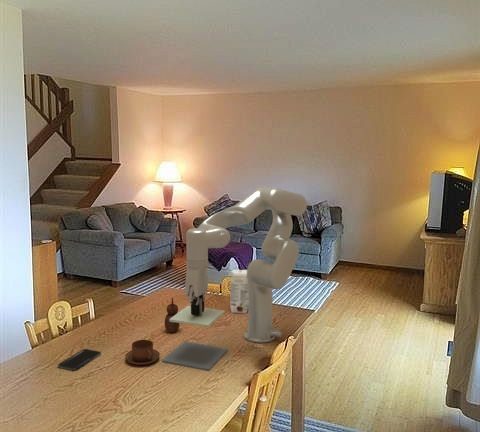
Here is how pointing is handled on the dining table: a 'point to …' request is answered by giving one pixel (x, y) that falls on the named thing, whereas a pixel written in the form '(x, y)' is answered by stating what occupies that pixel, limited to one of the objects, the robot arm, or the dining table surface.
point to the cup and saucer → (142, 353)
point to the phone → (79, 360)
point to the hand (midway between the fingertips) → (197, 312)
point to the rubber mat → (195, 355)
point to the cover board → (202, 320)
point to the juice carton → (239, 291)
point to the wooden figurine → (171, 311)
